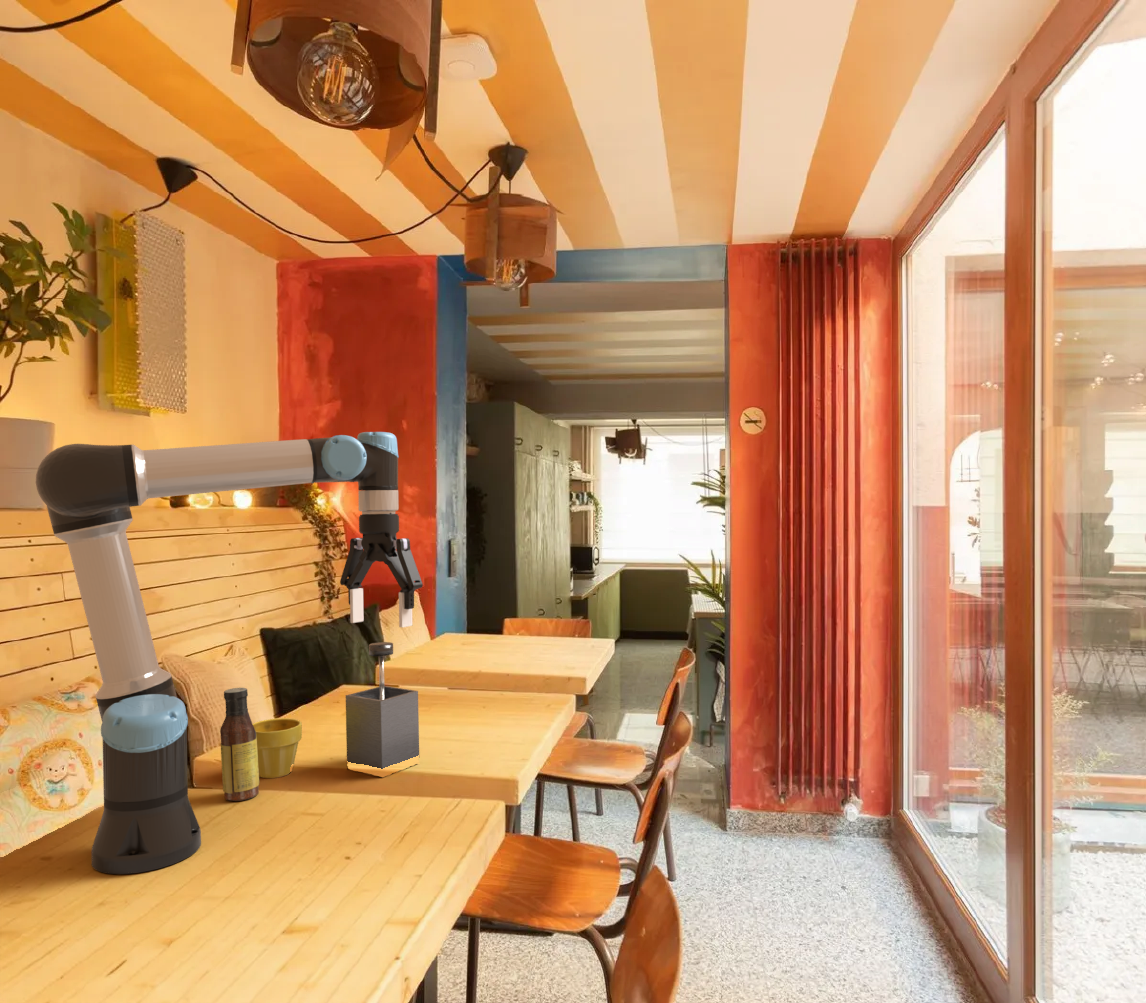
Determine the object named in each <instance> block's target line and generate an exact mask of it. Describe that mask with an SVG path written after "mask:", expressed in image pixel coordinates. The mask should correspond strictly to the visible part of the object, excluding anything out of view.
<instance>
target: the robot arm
mask: <svg viewBox="0 0 1146 1003" xmlns="http://www.w3.org/2000/svg"><path fill="white" fill-rule="evenodd" d="M398 449H399V448H398V439H397V436H396V435H395V434H393V432H392V433H391V432H386V431H364V432H360V433H358V435H357V438H355V437H353V436H351V435H345V434H339V435H333V436H332V437H319V438H318V437H317V438H309V439H308V438H307V439H306V438H305V439H304V438H302V439H289V440H287V439H286V440H274V441H259V442H245V443H228V444H218V445H217V444H215V445H201V446H187V447H185V446H184V447H175V448H174V447H173V448H171V447H170V448H158V449H157V448H156V449H145V450H144V449H141V448H139V447H138V446H137V445H136V444H121V445H120V444H118V445H117V444H116V445H115V444H114V445H109V444H108V445H105V444H103V445H102V444H91V443H90V444H88V443H71V444H65V445H63V446H60V447H58V448H56V449H54V450H52V451H51V452H50V453H48V454H47V455H46V456H45V457H44V458H43V459H42V460H41V462H40V463H39V465H38V467H37V471H36V475H35V486H36V492H37V493H38V495H39V498H40V499H41V501H42V502H43V503H44V504H45V505H46V509H47V512H48V516H49V521H50V524H51V528H52V530H53V531H52V533H53V536H54V537H55V538H57V539H59V540H61V541H63V542H64V543H66V544H67V547H68V551H69V554H70V560H71V561H72V562H71V564H72V565H73V570H74V575H75V578H76V583H77V586H78V590H79V593H80V599H81V601H82V605H83V610H84V613H85V614H84V615H85V617H86V621H87V622H86V623H87V625H88V629H89V630H88V631H89V633H90V637H91V641H92V644H93V647H94V648H93V649H94V653H95V656H96V661H97V665H98V668H99V671H100V675H101V679H102V684H101V686H100V687H99V689H98V691H97V692H96V694H95V698H96V702H97V707H98V710H99V715H100V718H101V722H102V723H101V726H100V735H101V738H102V774H103V776H102V779H103V780H102V781H103V786H102V788H103V813H102V816H101V818H100V821H99V822H100V823H99V826H98V828H97V831H96V835H95V838H94V841H93V844H92V847H91V853H90V854H91V866H92V868H93V869H94V870H95V871H97V872H100V873H105V874H111V875H112V874H113V875H128V874H129V875H130V874H137V873H144V872H150V871H154V870H157V869H161V868H166V867H170V866H171V865H175V864H176V863H179V862H181V861H182V862H183V861H184V860H186V859H187V858H189V857H191V856H192V855H193V854H195V853H197V851H198V850H199V849H200V848H201V845H202V835H201V832H202V831H201V826H200V824H199V822H198V820H197V817H196V814H195V811H194V809H193V807H192V804H191V802H190V800H189V788H188V786H189V785H188V784H189V782H188V780H189V779H188V744H187V743H188V738H187V737H188V736H187V735H188V734H187V727H188V723H189V722H188V720H189V719H188V713H187V710H186V706H185V703H184V701H182V700H181V699H180V698H178V696H177V693H176V692H177V691H176V689H175V686H174V682H173V681H174V680H173V678H172V674H171V672H169V671H167V670H165V669H163V668H161V667H160V665H159V662H158V658H157V653H156V649H155V645H154V641H153V637H152V634H151V633H152V632H151V629H150V625H149V620H148V617H147V613H146V609H145V605H144V601H143V597H142V593H141V592H142V591H141V589H140V585H139V581H138V580H139V579H138V578H137V572H136V568H135V563H134V560H133V556H132V551H131V548H130V546H129V545H130V544H129V540H128V536H127V533H126V532H127V529H128V528H129V527H130V525H131V524H132V522H133V521H134V519H133V515H132V510H131V507H139V506H142V505H143V504H144V503H145V502H146V501H148V500H149V499H155V498H166V497H168V498H169V497H175V496H177V497H178V496H187V495H197V494H199V495H200V494H207V493H217V492H218V493H219V492H220V493H221V492H230V491H238V490H248V489H249V490H250V489H261V488H271V487H282V486H291V485H301V484H303V485H304V484H316V483H357V484H358V494H357V495H358V511H359V512H361V514H359V516H358V531H359V533H360V534H362V537H356V538H354V537H353V538H351V539H350V540H349V550H348V554H347V557H346V561H345V565H344V566H343V567H344V568H343V571H342V574H341V577H340V579H339V584H340V585H341V586H345V587H346V589H347V590H348V591H347V592H348V597H347V598H348V605H349V614H350V619H349V620H350V622H349V623H351V624H355V623H362V622H364V620H365V619H364V615H365V614H364V587H363V585H362V583H363V581H364V579H365V578H366V576H367V574H368V572H370V571H369V570H370V569H371V567H372V566H373V564H374V563H375V562H380V563H381V562H382V563H384V564H385V565H387V567H388V568H389V570H390V572H391V574H392V575H393V577H394V579H395V581H396V582H397V584H398V586H399V587H400V591H399V592H398V624H399V625H398V626H399V627H398V628H407V627H411V626H413V609H415V592H416V590H419V589H422V588H423V586H424V585H423V584H424V583H423V582H422V579H421V576H420V573H419V571H418V567H417V564H416V562H415V559H414V556H413V553H412V550H411V541H410V538H408V537H407V538H398V537H397V534H398V533H399V531H400V515H398V514H399V513H396V512H397V511H399V507H400V506H399V457H400V456H399V450H398Z"/></svg>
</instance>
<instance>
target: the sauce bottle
mask: <svg viewBox="0 0 1146 1003" xmlns="http://www.w3.org/2000/svg"><path fill="white" fill-rule="evenodd" d="M248 695H249V694H248V688H245V687H235V688H234V687H233V688H228V689H226V690H224V692H223V698H224V701H225V718H224V720H223V722H222V724H221V726H220V728H219V729H220V731H219V732H220V757H221V759H220V760H221V761H220V762H221V774H222V776H221V777H222V778H221V779H222V791H223V792H224V799H225V800H226V801H230V802H231V801H232V802H242V801H248V800H250V799H253V798H255V797H256V796H257V795H258V794H259V793H260V791H259V790H260V788H259V785H260V776H259V770H258V754H257V738H256V731H255V729H254V726H253V722H252V719H251V716H250V713H249V711H248V710H249V709H248Z"/></svg>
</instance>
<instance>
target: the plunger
mask: <svg viewBox="0 0 1146 1003" xmlns="http://www.w3.org/2000/svg"><path fill="white" fill-rule="evenodd" d="M393 654H394V643H393V642H392V641H391V642H389V641H379V642H372V643H370V644H368V655H369V656H371V657H378V681H379V682H378V683H379V686H378V687H379V690H380V700H384V699H385V688H384V686H385V656H391V655H393Z"/></svg>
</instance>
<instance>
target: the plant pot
mask: <svg viewBox="0 0 1146 1003" xmlns="http://www.w3.org/2000/svg"><path fill="white" fill-rule="evenodd" d="M302 723H303V722H302V721H301V720H299V719H296V718H289V717H280V718H279V717H277V718H276V717H275V718H269V719H264V720H259V721H256V722H252V724H253V726H254V729H255V731H256V738H257V754H258V770H259V778H262V779H263V778H264V779H275V778H276V779H277V778H282V777H285V776H287V775H289V773H290V767H291V765H292V764H294V765H295V762H296V761H295V760H296V756H297V751H298V746H299V742H300V741H301V740H302V738H303V737H302V736H303V724H302ZM290 774H291V773H290Z"/></svg>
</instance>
